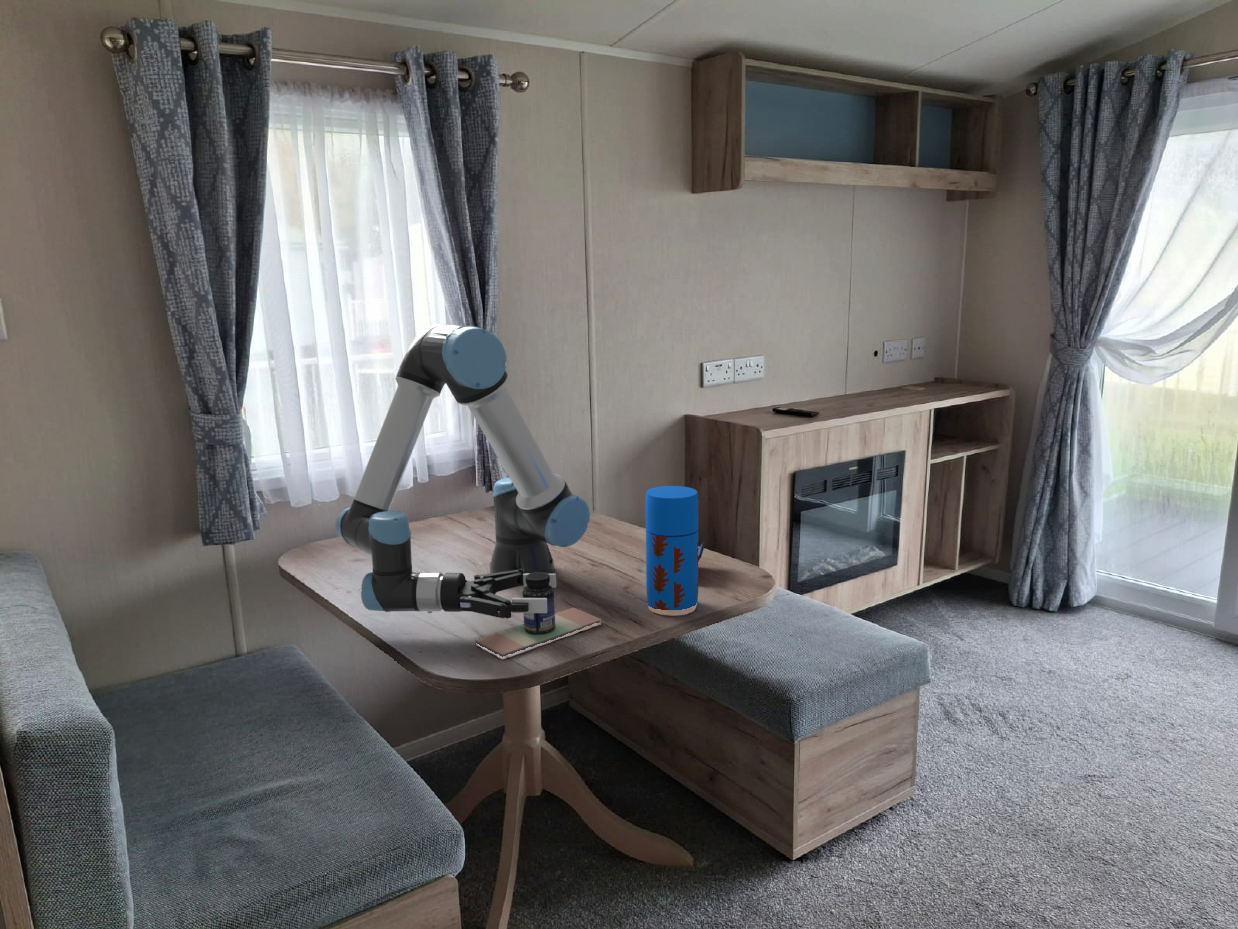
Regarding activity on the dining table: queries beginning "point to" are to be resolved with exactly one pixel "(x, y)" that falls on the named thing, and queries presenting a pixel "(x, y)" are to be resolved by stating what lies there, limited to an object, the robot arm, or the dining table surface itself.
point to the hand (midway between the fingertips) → (551, 592)
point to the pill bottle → (539, 589)
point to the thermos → (672, 547)
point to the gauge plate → (521, 639)
